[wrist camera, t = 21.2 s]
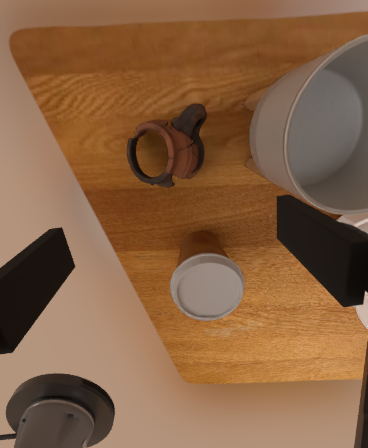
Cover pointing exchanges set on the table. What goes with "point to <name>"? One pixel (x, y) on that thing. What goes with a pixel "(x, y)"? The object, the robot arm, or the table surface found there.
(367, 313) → the pot
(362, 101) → the planter
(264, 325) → the table surface
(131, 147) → the pottery mug
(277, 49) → the table surface
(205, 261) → the disposable coffee cup
